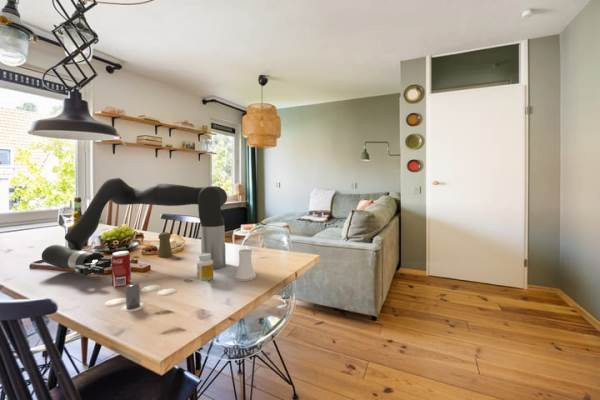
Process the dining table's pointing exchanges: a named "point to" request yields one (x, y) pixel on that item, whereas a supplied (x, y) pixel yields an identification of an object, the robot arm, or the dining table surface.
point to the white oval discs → (146, 289)
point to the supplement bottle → (205, 267)
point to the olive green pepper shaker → (164, 245)
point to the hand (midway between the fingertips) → (116, 267)
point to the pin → (132, 296)
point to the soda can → (121, 269)
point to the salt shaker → (245, 266)
